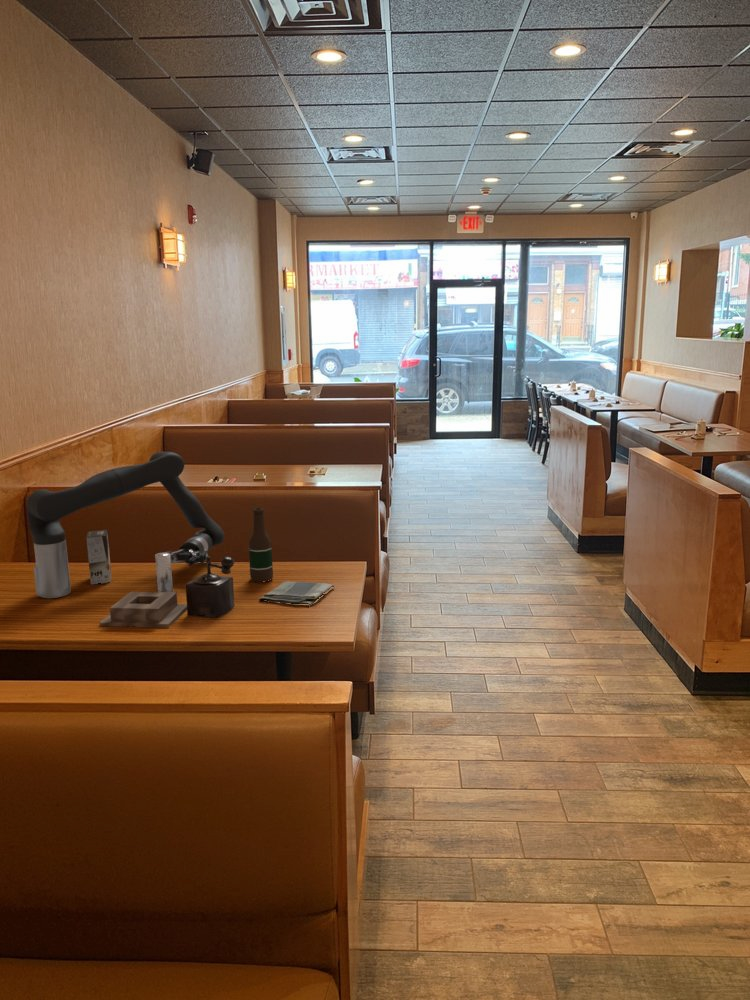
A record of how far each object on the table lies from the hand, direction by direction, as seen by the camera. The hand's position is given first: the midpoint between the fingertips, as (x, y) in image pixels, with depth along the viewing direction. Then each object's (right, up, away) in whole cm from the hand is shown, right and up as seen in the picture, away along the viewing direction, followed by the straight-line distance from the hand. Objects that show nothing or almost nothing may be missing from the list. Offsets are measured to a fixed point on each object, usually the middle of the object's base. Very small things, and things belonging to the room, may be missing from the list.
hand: (177, 563), depth 243 cm
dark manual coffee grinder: (+18, -13, -22) cm, 31 cm away
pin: (-1, -10, -9) cm, 14 cm away
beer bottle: (+26, -6, +8) cm, 28 cm away
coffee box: (-28, -7, +11) cm, 31 cm away
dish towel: (+39, -10, -8) cm, 41 cm away
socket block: (-3, -13, -25) cm, 28 cm away
